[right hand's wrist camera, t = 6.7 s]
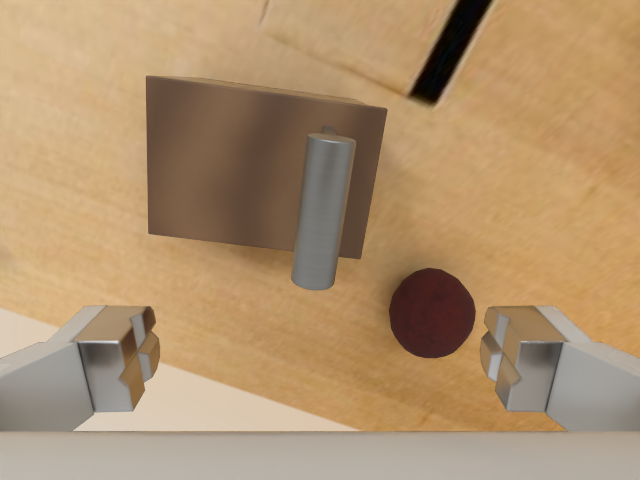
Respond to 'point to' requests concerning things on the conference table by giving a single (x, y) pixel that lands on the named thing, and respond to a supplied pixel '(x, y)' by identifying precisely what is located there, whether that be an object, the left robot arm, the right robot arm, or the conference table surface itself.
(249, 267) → the conference table surface
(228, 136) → the lid
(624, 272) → the conference table surface
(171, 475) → the right robot arm
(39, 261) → the conference table surface
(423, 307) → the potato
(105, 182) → the conference table surface
